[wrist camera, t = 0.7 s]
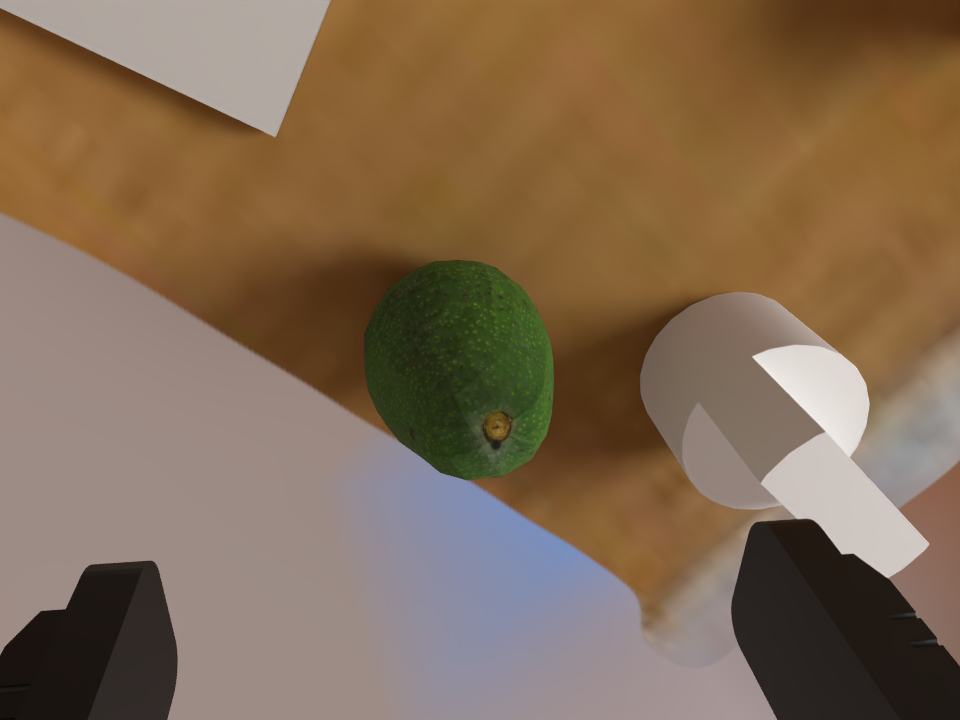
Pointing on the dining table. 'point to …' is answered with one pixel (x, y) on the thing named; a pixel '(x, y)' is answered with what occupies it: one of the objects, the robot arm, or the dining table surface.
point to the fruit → (461, 368)
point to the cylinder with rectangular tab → (771, 422)
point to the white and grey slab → (197, 45)
